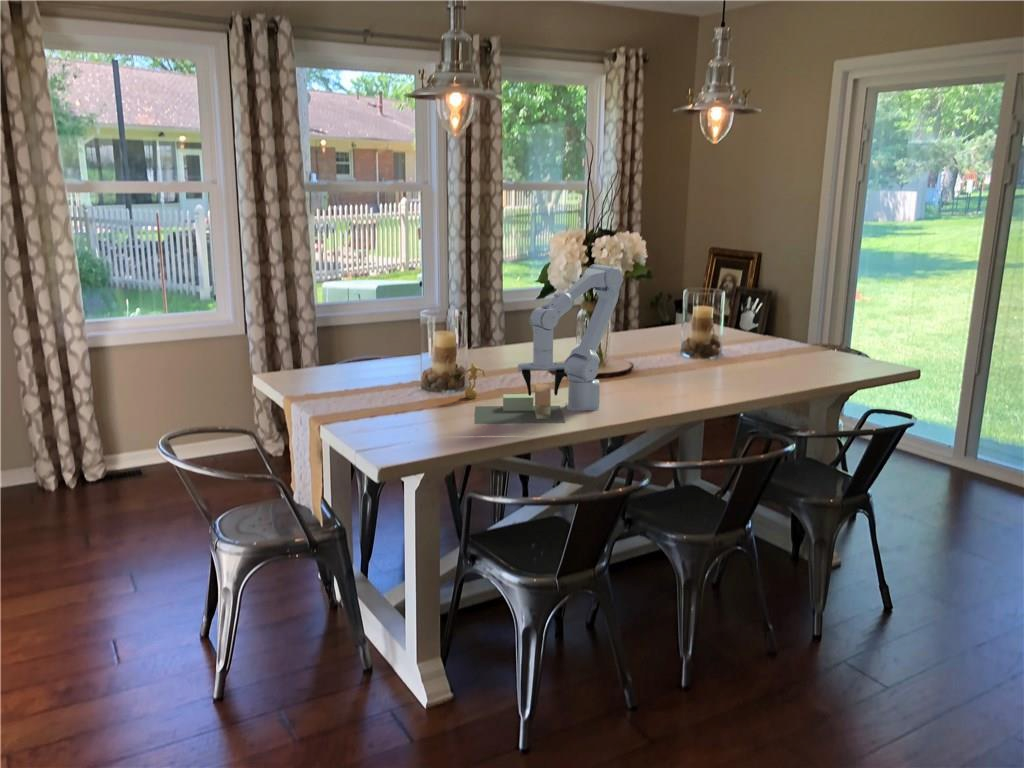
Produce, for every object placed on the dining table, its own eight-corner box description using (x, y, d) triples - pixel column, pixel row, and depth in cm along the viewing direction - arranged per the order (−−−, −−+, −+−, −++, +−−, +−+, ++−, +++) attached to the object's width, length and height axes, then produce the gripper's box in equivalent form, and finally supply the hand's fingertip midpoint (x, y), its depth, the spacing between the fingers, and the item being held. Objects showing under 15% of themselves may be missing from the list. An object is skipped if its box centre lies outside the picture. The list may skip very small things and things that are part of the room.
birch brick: (548, 409, 251) (548, 397, 250) (550, 418, 242) (550, 405, 241) (534, 409, 251) (534, 397, 250) (536, 418, 242) (536, 405, 241)
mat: (560, 406, 256) (560, 405, 256) (565, 424, 238) (565, 422, 238) (475, 407, 255) (475, 406, 255) (474, 424, 237) (474, 423, 237)
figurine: (480, 396, 268) (480, 359, 265) (488, 400, 263) (488, 363, 260) (456, 399, 264) (455, 362, 261) (464, 403, 259) (463, 366, 256)
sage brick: (532, 406, 254) (532, 394, 253) (533, 410, 250) (533, 397, 249) (503, 407, 254) (503, 394, 253) (503, 410, 250) (503, 397, 249)
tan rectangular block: (548, 397, 250) (548, 384, 249) (550, 405, 241) (550, 391, 240) (535, 397, 250) (535, 384, 249) (536, 405, 241) (536, 392, 240)
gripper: (518, 352, 238) (518, 398, 241) (569, 352, 238) (568, 397, 241) (517, 347, 245) (517, 392, 248) (567, 347, 245) (566, 391, 248)
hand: (542, 394), depth 245 cm, fingers open, 7 cm apart
